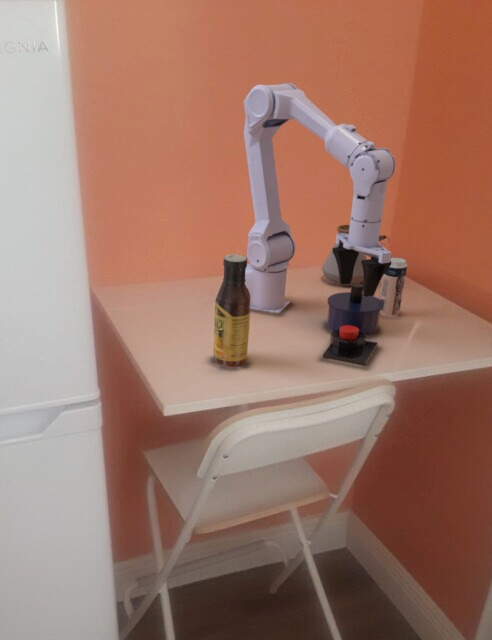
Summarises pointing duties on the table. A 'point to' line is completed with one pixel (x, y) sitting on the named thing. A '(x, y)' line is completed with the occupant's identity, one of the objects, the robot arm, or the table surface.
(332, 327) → the pot
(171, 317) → the table surface
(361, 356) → the control block
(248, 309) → the sauce bottle
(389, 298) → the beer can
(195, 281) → the table surface
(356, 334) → the button
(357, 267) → the coffee pot
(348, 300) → the lid
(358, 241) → the robot arm
